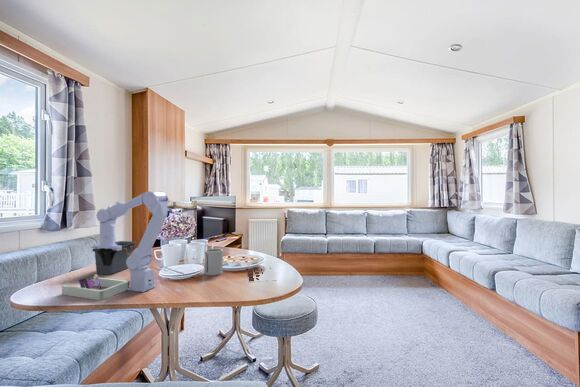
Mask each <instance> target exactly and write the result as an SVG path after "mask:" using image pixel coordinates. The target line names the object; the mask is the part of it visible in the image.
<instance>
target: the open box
mask: <svg viewBox="0 0 580 387" xmlns="http://www.w3.org/2000/svg"><path fill="white" fill-rule="evenodd" d="M98 279H99V282H100V286H101V288H102V287H103V288H105V289H99V290H96V289H95V288H91V289H88V288H81V286H79V287H78V286H71V285H61V295H62V296H70V297H77V298H84V299H90V300H95V301H96V300H98V301H103V300H105V299H108V298H110V297H112V296H116V295H117V294H120V293H124V292H125V291H127V290H126V289H127V288H130V280H123V279H114V278H107V277H106V278H105V277H99V276H98ZM91 280H92V281H93V282H96V283H94V284H95V285H94V286H95V287H98V283H97V281H96V279H95V277H94V279H91ZM91 280H90V281H91ZM94 286H93V287H94Z"/></svg>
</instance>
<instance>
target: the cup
mask: <svg viewBox="0 0 580 387" xmlns="http://www.w3.org/2000/svg"><path fill="white" fill-rule="evenodd" d="M223 254H224V250H223V249H222V248H207V249H205V250H204V274H205V275H206V276H218V275H219V276H220V275H221V274H223V272H224V271H223V270H224V269H223V268H224V263H223V262H224V259H223V258H224V255H223Z"/></svg>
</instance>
